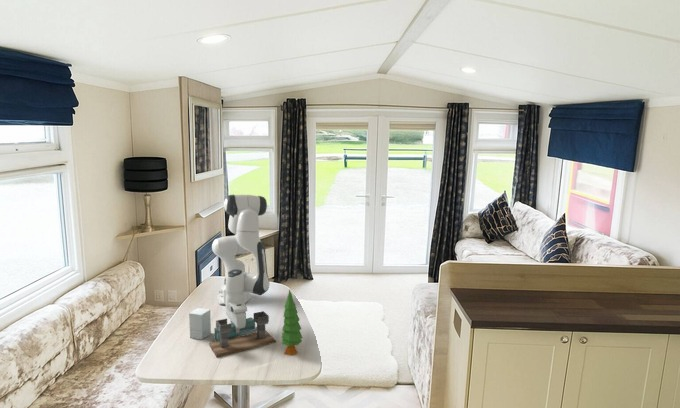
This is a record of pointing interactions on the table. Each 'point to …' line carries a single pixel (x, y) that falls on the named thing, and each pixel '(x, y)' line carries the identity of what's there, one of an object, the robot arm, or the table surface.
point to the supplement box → (200, 323)
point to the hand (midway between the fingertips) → (235, 330)
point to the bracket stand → (241, 337)
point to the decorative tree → (291, 327)
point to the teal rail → (249, 326)
